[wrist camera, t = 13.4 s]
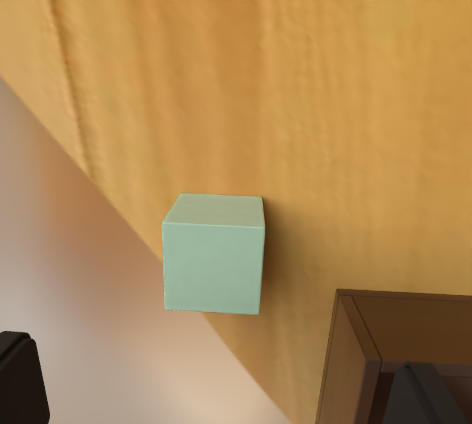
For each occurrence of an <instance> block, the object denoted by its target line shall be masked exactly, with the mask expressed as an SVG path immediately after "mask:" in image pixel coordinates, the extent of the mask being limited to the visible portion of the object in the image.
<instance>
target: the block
mask: <svg viewBox="0 0 472 424" xmlns="http://www.w3.org/2000/svg"><path fill="white" fill-rule="evenodd" d="M264 242H265V220H264V210H263V201H262V197H257V196H236V195H215V194H194V193H181V194H180V195H179V197H178V198H177V200H176V202H175V203H174V205H173V206H172V208H171V209H170V211H169V212H168V214H167V216H166V217H165V219H164V220H163V222H162V244H163V270H164V298H165V309H166V310H179V311H196V312H214V313H232V314H250V315H259V311H260V297H261V283H262V269H263V256H264Z"/></svg>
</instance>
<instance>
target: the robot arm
mask: <svg viewBox="0 0 472 424" xmlns="http://www.w3.org/2000/svg"><path fill="white" fill-rule="evenodd" d="M49 419H50V411H49V406H48V401H47V396H46V391H45V386H44V381H43V376H42V371H41V366H40V361H39V356H38V351H37V346H36V342H35V341H34V340H33V339H31V337H30V335H29V334H28V333H25V332H11V331H4V332H1V333H0V424H48V423H49ZM382 424H469V422H468V421H467V419H466V417H465V416H464V414H463V413H462V411H461V409H460V408H459V406H458V404H457V403H456V401H455V400H454V398H453V396H452V395H451V393H450V391H449V390H448V388H447V387H446V385H445V383H444V382H443V380H442V378H441V377H440V375H439V374H438V372H437V370H436V369H435V367H434V366H433V365H432V364H431V363H423V362H410V361H406V362H405V363H404V364H403V367H398V368H397V369H396V372H395V376H394V380H393V384H392V388H391V392H390V395H389V399H388V403H387V407H386V411H385V415H384V419H383V423H382Z"/></svg>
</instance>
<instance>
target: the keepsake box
mask: <svg viewBox="0 0 472 424" xmlns="http://www.w3.org/2000/svg"><path fill="white" fill-rule="evenodd" d="M406 361H410V362H423V363H431V364H432V365H433V366H434V367H435V369H436V370H437V372H438V374H439V375H440V377H441V378H442V380H443V382H444V383H445V385H446V387H447V388H448V390H449V391H450V393H451V395H452V396H453V398H454V400H455V401H456V403H457V404H458V406H459V408H460V409H461V411H462V413H463V414H464V416H465V417H466V419H467V421H468V422H469V424H472V296H462V295H444V294H425V293H406V292H387V291H368V290H350V289H336V295H335V301H334V307H333V314H332V320H331V327H330V333H329V339H328V346H327V352H326V358H325V365H324V371H323V377H322V384H321V390H320V397H319V403H318V409H317V416H316V422H315V424H382V423H383V419H384V415H385V411H386V407H387V403H388V399H389V395H390V392H391V388H392V384H393V380H394V376H395V372H396V369H397V368H398V367H403V364H404V363H405V362H406Z"/></svg>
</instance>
